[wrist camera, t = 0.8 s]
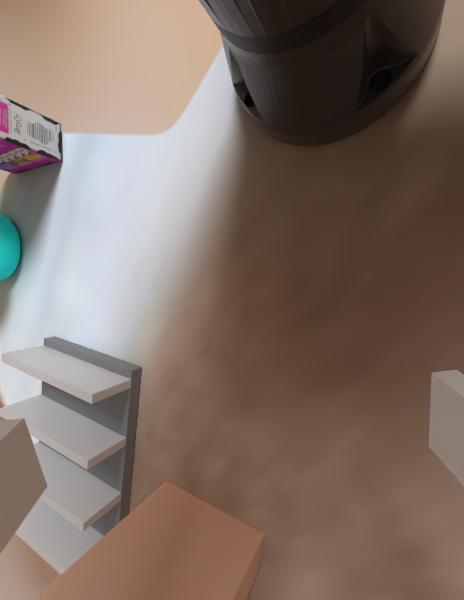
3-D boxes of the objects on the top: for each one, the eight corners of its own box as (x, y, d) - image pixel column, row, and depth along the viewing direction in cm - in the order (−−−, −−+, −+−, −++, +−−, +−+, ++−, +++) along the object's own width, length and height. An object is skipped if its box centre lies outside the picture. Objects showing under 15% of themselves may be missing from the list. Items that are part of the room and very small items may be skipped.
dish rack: (55, 336, 42) (2, 345, 36) (141, 367, 35) (93, 384, 29) (47, 492, 45) (-3, 524, 39) (125, 550, 38) (78, 598, 32)
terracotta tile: (166, 480, 34) (40, 593, 22) (264, 534, 29) (172, 723, 17) (162, 511, 35) (38, 640, 22) (258, 570, 30) (165, 780, 17)
